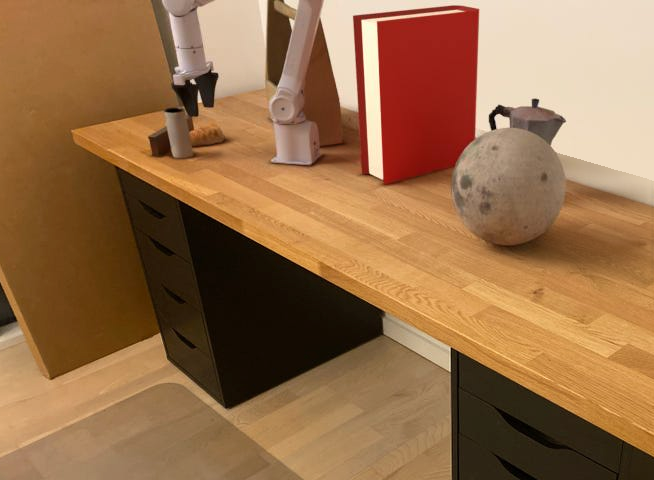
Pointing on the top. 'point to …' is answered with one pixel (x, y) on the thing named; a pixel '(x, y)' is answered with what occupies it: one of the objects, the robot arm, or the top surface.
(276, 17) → the caddy
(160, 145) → the wall shelf
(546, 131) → the moka pot
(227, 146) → the top surface
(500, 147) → the moon model
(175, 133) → the planter
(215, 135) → the pastry
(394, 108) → the book
